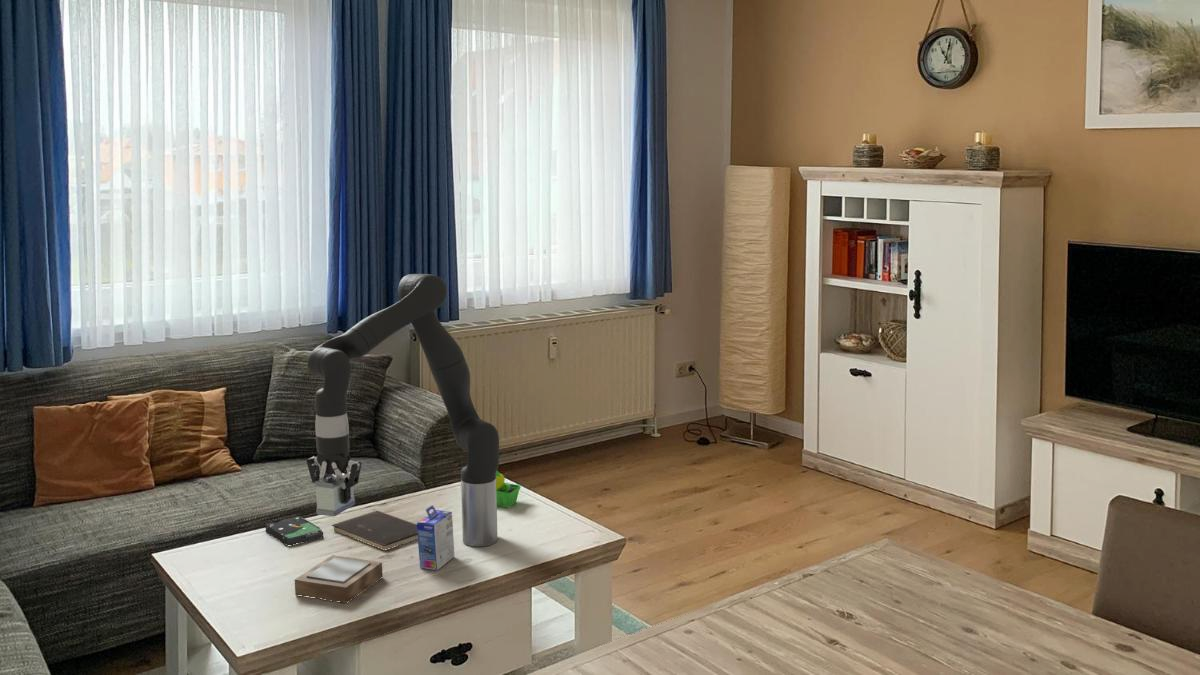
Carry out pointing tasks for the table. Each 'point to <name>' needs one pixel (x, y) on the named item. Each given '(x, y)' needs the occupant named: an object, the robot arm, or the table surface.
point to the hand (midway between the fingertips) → (335, 501)
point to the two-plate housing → (331, 496)
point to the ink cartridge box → (435, 539)
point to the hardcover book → (379, 529)
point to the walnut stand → (338, 578)
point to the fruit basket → (505, 491)
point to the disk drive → (294, 530)
